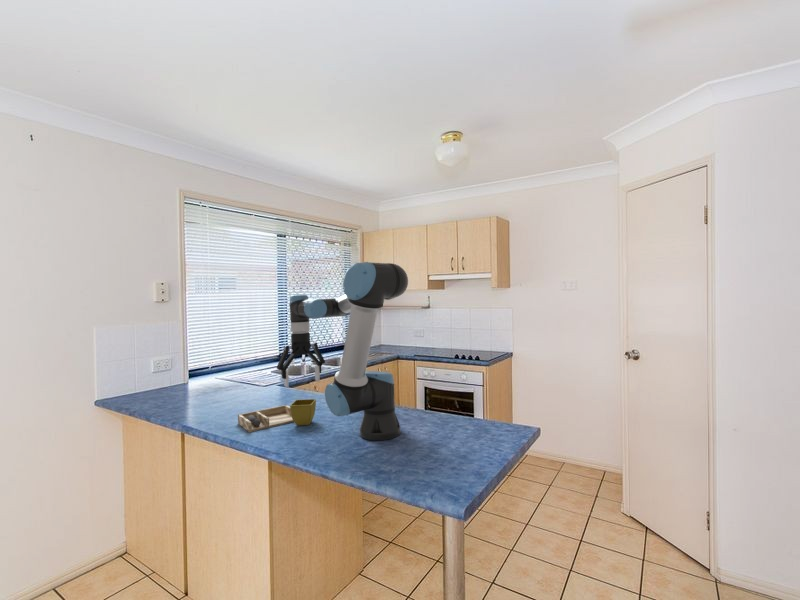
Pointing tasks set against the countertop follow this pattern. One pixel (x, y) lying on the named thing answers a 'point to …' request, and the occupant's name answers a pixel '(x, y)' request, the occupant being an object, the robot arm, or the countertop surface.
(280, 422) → the divided wooden tray
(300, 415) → the flower pot
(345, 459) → the countertop surface
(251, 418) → the cord stub
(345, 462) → the countertop surface
